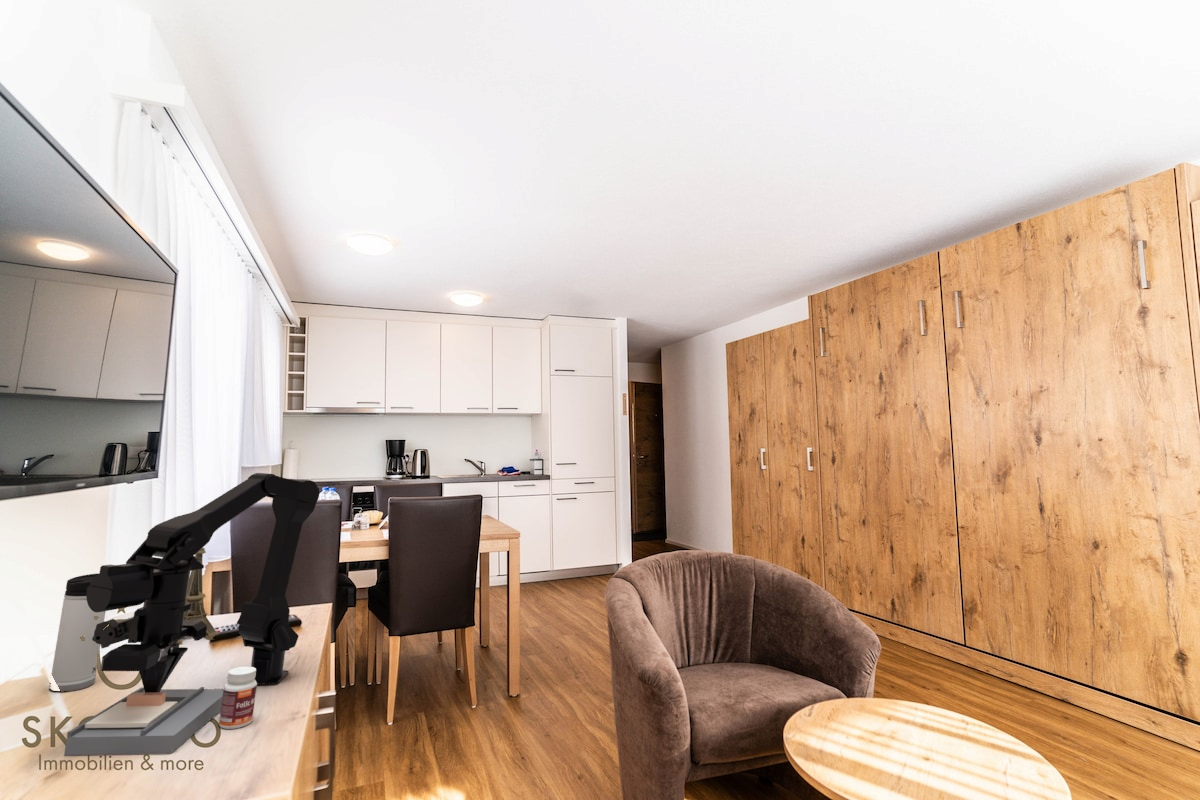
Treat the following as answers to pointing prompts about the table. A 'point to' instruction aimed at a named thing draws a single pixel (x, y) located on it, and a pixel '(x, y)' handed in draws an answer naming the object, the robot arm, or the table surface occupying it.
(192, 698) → the board
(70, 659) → the travel mug
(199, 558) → the eiffel tower
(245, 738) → the table surface
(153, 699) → the cover
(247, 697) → the pill bottle
